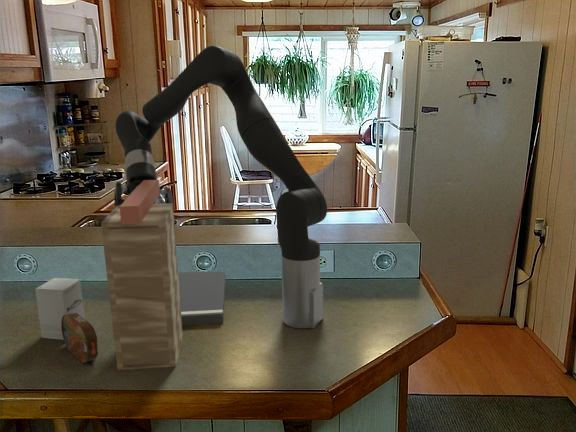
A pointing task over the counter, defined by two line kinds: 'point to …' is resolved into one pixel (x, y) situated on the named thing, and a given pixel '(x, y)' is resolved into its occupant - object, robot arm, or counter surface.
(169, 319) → the shelf stand
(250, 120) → the robot arm
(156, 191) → the bar
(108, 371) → the counter surface
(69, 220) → the counter surface
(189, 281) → the mat
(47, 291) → the supplement box
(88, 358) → the tin
